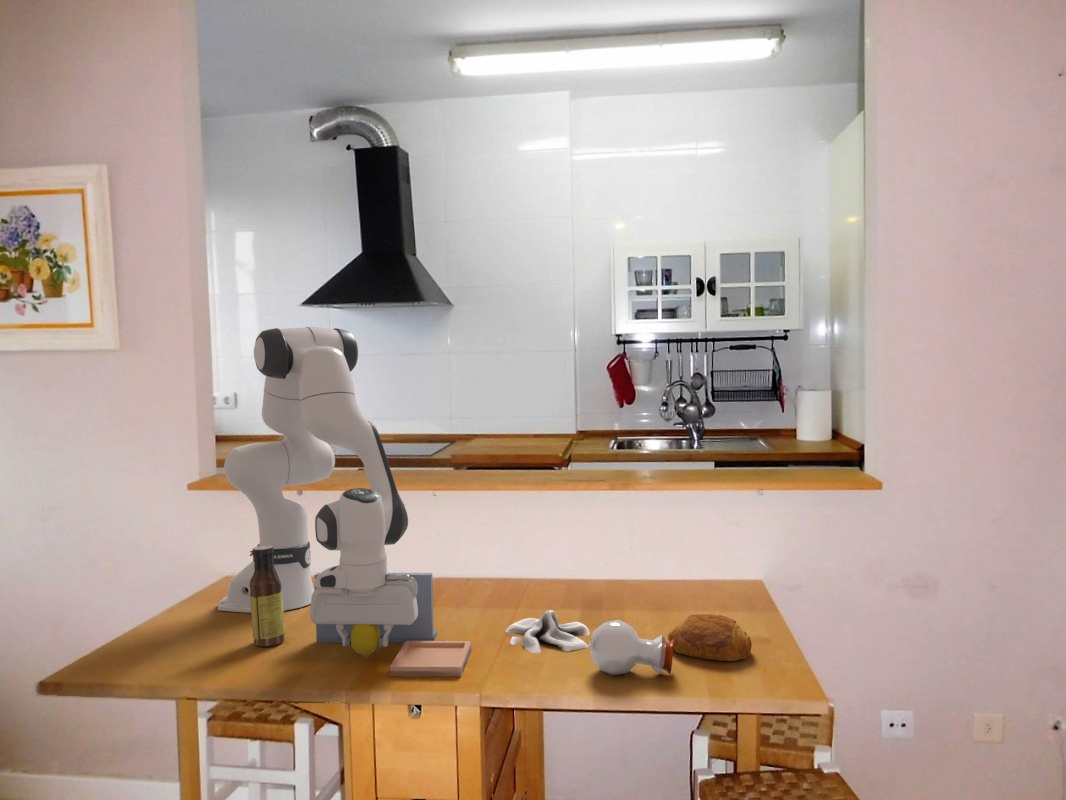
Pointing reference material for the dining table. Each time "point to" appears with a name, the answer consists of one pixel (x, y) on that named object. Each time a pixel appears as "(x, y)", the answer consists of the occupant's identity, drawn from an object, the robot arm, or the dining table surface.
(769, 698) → the dining table surface
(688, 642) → the croissant
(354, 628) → the lemon
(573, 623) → the cloth
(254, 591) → the sauce bottle
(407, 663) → the dish
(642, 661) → the potion bottle
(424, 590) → the screen
